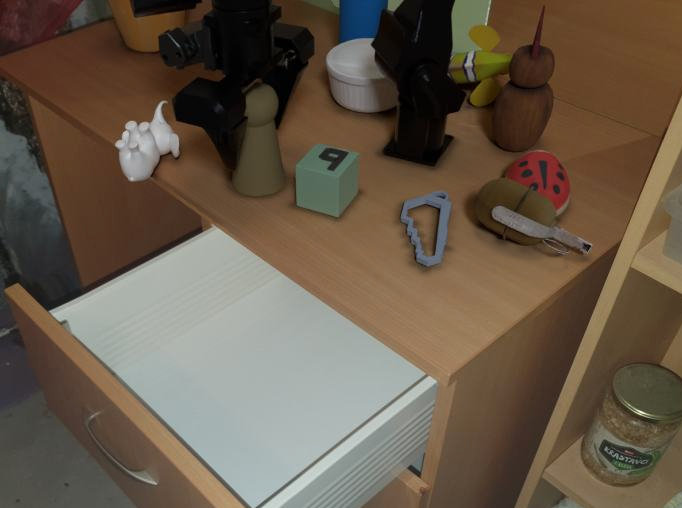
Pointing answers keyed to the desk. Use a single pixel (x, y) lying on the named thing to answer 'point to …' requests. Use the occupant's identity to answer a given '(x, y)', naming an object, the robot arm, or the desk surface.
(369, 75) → the ramekin
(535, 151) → the ladybug figurine
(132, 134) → the elephant figurine
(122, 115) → the desk surface
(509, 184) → the grenade
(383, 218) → the desk surface
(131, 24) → the flower pot
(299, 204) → the letter block
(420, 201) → the key tool
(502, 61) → the fish toy
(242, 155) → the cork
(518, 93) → the wooden figurine
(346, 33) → the beverage can
